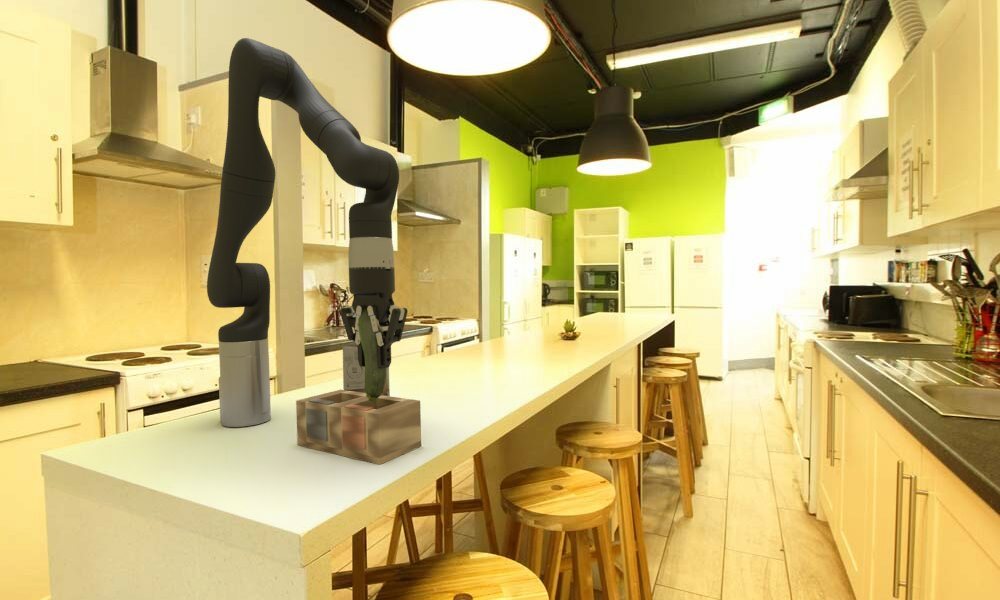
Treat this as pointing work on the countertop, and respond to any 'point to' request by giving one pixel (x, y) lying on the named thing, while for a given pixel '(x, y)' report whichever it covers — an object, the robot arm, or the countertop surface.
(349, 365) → the coffee box
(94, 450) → the countertop surface
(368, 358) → the vegetable
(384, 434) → the holder
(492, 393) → the countertop surface
